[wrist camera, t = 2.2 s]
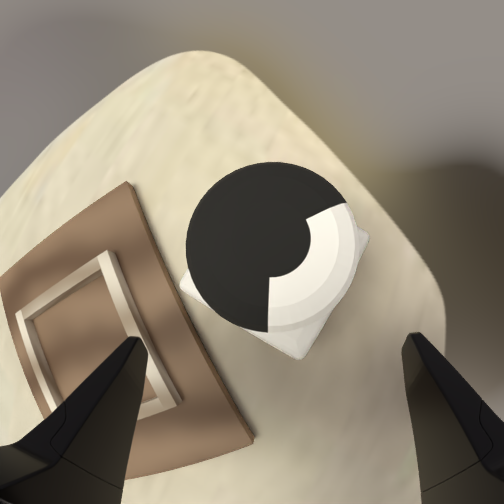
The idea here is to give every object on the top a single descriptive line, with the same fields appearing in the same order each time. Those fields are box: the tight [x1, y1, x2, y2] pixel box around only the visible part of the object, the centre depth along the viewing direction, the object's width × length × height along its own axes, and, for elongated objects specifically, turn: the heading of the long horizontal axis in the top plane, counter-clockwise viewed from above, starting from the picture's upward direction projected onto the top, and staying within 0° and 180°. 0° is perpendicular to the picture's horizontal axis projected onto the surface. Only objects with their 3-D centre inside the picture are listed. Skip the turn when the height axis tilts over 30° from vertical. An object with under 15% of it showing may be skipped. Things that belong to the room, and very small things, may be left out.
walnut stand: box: [0, 181, 255, 480], centre depth 20 cm, size 22×18×2 cm
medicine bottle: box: [179, 162, 369, 360], centre depth 15 cm, size 7×7×12 cm
